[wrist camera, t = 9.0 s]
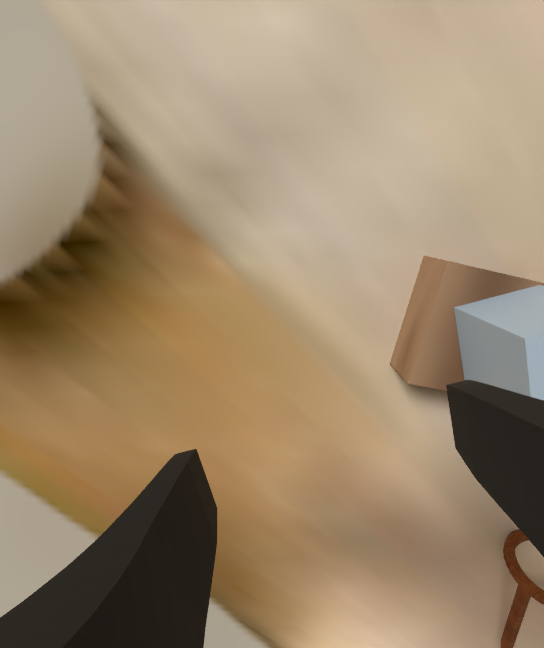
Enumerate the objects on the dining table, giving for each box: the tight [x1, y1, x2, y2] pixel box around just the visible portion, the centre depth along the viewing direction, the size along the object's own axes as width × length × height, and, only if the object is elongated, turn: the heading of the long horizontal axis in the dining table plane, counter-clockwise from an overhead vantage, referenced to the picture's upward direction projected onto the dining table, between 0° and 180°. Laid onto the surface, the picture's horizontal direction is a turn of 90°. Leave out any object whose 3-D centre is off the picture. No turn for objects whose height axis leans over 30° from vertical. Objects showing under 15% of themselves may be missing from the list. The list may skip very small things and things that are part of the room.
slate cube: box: [454, 285, 544, 400], centre depth 17 cm, size 4×4×5 cm
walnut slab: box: [390, 256, 544, 391], centre depth 20 cm, size 6×6×3 cm
